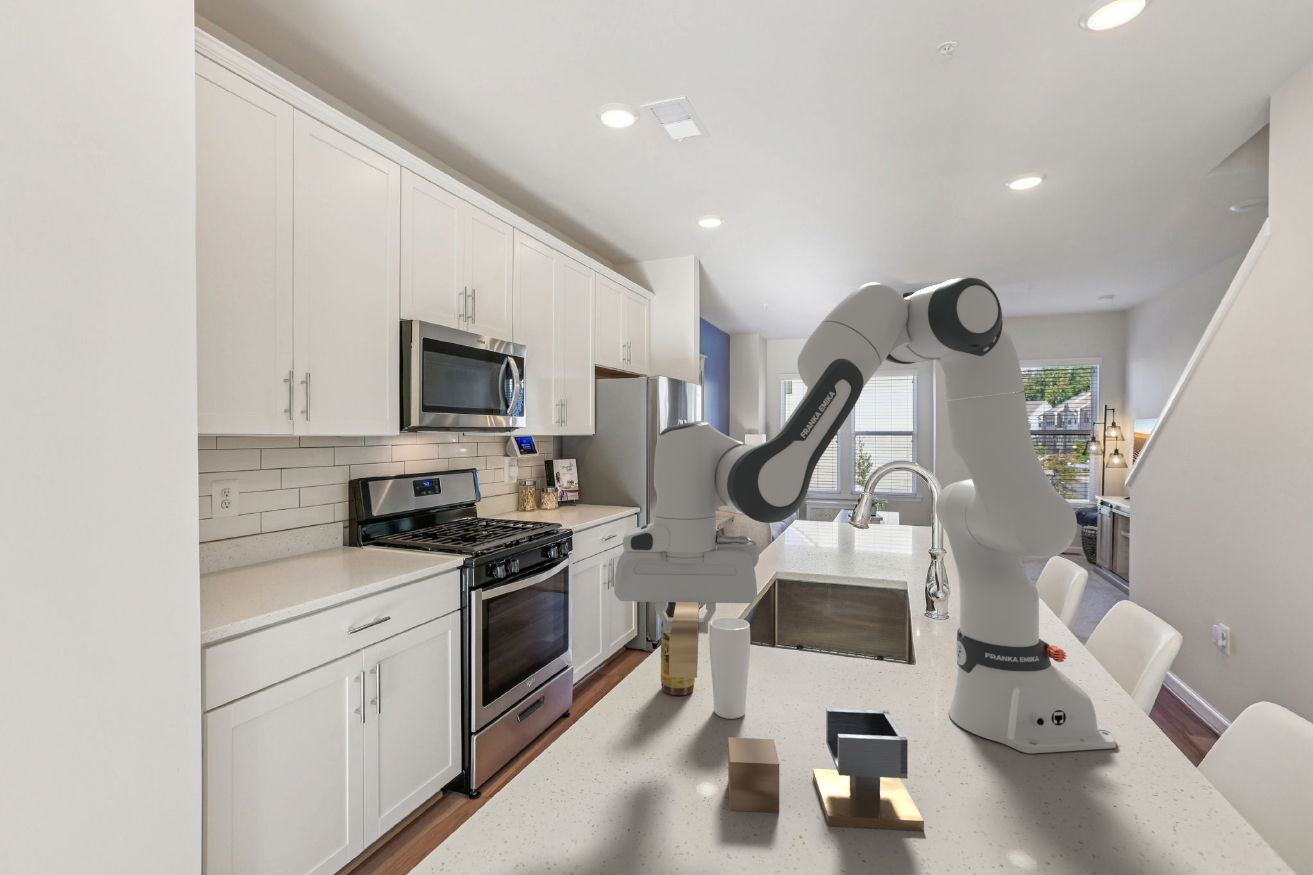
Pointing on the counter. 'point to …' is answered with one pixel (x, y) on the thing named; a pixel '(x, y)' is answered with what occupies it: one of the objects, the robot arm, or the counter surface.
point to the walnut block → (753, 775)
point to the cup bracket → (866, 772)
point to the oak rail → (684, 640)
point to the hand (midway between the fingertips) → (685, 632)
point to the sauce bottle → (668, 683)
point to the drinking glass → (729, 665)
